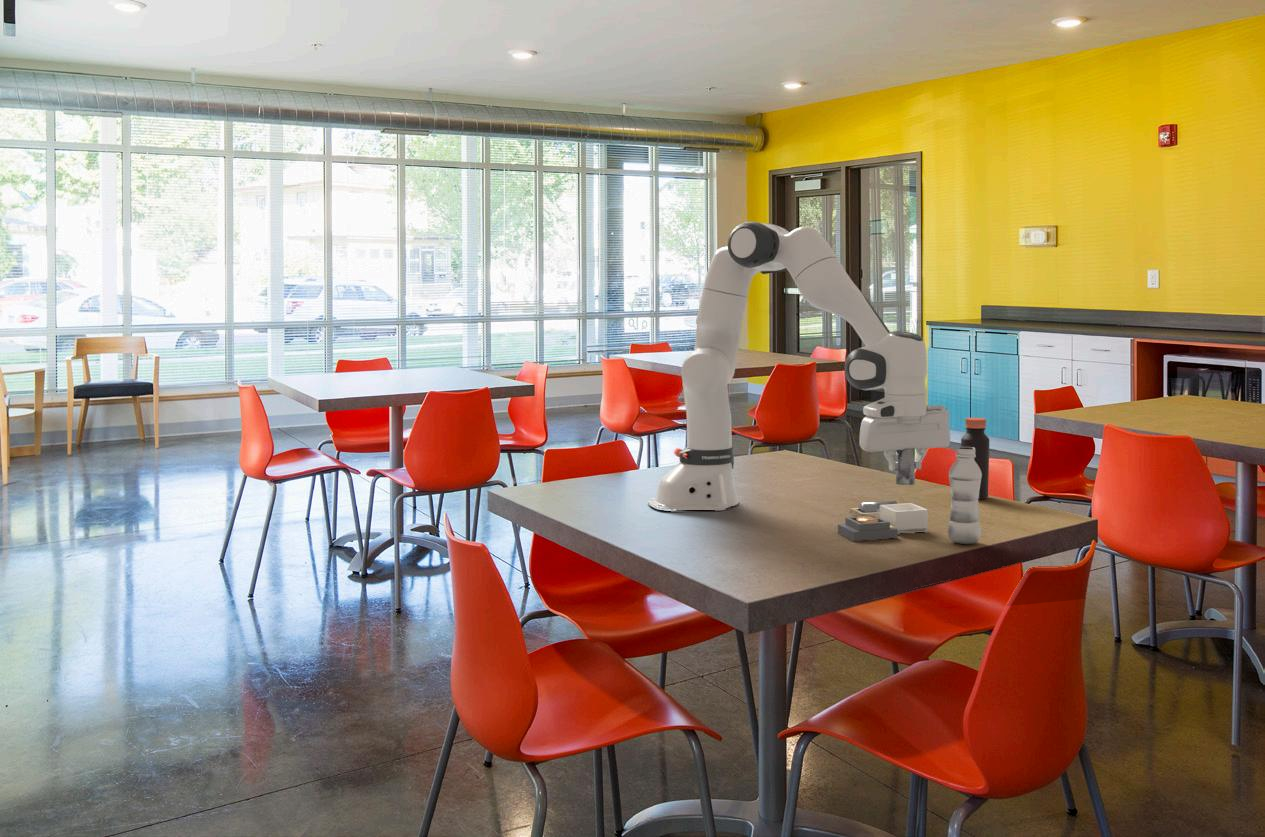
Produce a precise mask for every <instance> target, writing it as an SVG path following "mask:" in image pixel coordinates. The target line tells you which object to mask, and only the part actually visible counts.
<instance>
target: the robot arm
mask: <svg viewBox="0 0 1265 837" xmlns="http://www.w3.org/2000/svg"><path fill="white" fill-rule="evenodd" d="M786 271H788V273H789V274H790V276H791V278H792V280H793V282H794V283H795V285H796V288H797V290H798V291H799V292H800V294H801V296H802V297H803V299H805V301H806V302H807V303H808V304H809V305H810V306H812V308H813V307H814V308H816V309H817V310H820V311H824V312H827V313H830V314H833V315H836V316H838V317H840V318H842V319H844V320H845V321H846V322H847V323H849V324H850V325H851V326H852V328H853V329H854V331H855V332H856V334H857V335H858V337H859V338H860V340H861V341H862V343H863V345H864V346H862V347H859V348H856V349H854V350H852V351H851V352H850V353H849V354H848V355H847V358H846V359H845V363H844V374H845V378H846V379H847V381H848V383H849V384H850V385H851V387H853V388H855V389H857V390H863V391H872V390H881V389H883V390H884V397H883V398H880V399H879V400H876V401H873V402H872V403H868V404H866V405H864V406H863V409H862V413H863V415H865V417H863V419H862V420H861V423H860V429H859V442H858V443H859V447H860V448H861V450H863V451H865V452H868V453H872V452H883V455H884V457H885V459H886V460H887V462H888V470H889V471H890V472H896V471H897V470H899V468H898V466H899V463H898V462H896V460H895V458H894V457H893V456H895V451H896V450H903V449H908V448H914V449H915V453H917V454H916V456H915V470H921V469H922V462H923V460H924V458H925V456H926V455H927V449H936V448H937V449H939V448H947V447H948V446H949V445H950V443H951V430H950V423H949V421H950V412H949V409H948V408H947V407H945V406H944V405H943V404H938V405H937V404H936V405H927V402H928V401H927V398H928V397H927V393H928V392H927V391H928V390H927V388H926V377H927V375H928V361H927V360H928V358H927V356H928V355H927V349H926V348H927V347H926V344H925V343H926V342H925V340H924V339H923V337H922V336H920V335H919V334H917V333H914V332H910V331H900V330H899V331H898V330H896V331H890V330H889V328H888V326H886V324H885V322H884V321H883V320H882V318H881V316H880V315H879V314H878V311H876V310H875V308H874V307H873V305H872V304H871V302H870V301H869V299H868V298H867V297H866V295H865V294H864V293H863V292H862V291H861V290H860V289H859V287H858V286H857V285H856V284H855V283H854V282H853V280H852V279H851V278H850V276H849V274H848V273H847V271H846V270H845V268H844V267H843V264H841V262H840V260H839V258H838V256H837V255H836V253H835V252H834V250H833V248H832V247H831V245H830V244H829V243H828V242H827V240H826V238H824V237H823V235H821V233H820V232H819V231H818V230H817V229H816V228H814V227H812V226H810V225H809V226H808V225H807V226H800V227H797V228H794V229H793V230H790V229H788V228H785V227H781V226H779V225H776V224H773V223H764V222H763V223H762V222H758V221H746V222H742V223H740V224H738V225H736V227H734V228H733V229H732V231H731V232H730V234H729V236H728V240H727V245H726V246H723V247H719V248H718V249H717V250H716V251H715V252H714V254H713V256H712V259H711V260H710V263H709V266H708V269H707V272H706V275H705V279H704V283H703V287H702V292H701V297H700V300H699V301H700V302H699V306H698V312H697V316H696V330H695V342H694V350H693V351H692V352H690V353H689V354H688V355H686V357H685V359H684V360H683V362H682V365H681V368H680V369H681V370H680V375H681V379H682V392H683V400H684V406H685V414H686V442H687V443H686V447H684V448H683V449H681V448H679V447H676V448H675V449H674V450H673V454H674V456H676V457H678V458H679V463H678V464H677V465H675V466H674V467H673V468H672V469H671V470H670V471H668V472H667V473H665V474H664V475H663V476H662V477H661V478H660V479H659V481H658V484H657V488H656V496H655V497H650V498H649V499H655V500H649V499H647V503H648V502H649V503H650V504H651V505H653V506H655V507H658V508H662V509H671V510H673V509H676V510H715V511H726V510H727V509H728V508H731V506H732V507H734V506H737V505H738V504H739V499H738V496H737V492H736V488H735V482H734V481H735V480H734V473H733V472H734V471H733V469H734V466H735V453H734V447H733V445H732V443H733V442H732V431H733V430H732V428H733V427H732V413H731V412H732V411H731V406H730V398H729V397H730V396H729V386H728V385H729V383H731V381H732V380H733V378H734V376H735V373H736V371H735V370H736V365H737V361H738V360H737V359H738V354H739V346H740V337H741V330H742V324H743V320H744V316H745V311H746V305H747V302H748V297H749V293H750V292H749V291H750V287H751V283H752V280H753V278H754V277H755V275H757V274H759V273H761V274H762V275H768V274H775V273H781V272H786ZM659 506H661V507H659ZM726 508H727V509H726Z"/></svg>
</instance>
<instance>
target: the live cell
mask: <svg viewBox="0 0 1265 837" xmlns="http://www.w3.org/2000/svg"><path fill="white" fill-rule="evenodd" d="M888 504H898V503H897V501H896V500H885V501H884V500H883V501H882V500H881V501H872V502H871V501H870V502H861V503H859V505H858V507H857V508H858V511H861V512H863V513H871V512H880V505H888Z"/></svg>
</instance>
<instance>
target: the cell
mask: <svg viewBox="0 0 1265 837" xmlns="http://www.w3.org/2000/svg"><path fill="white" fill-rule="evenodd" d="M915 455H916V449H914V448H908V449H903V450H895V462H898V463H899V466H898V468H899V470H897V471H895V484H896V485H898V486H913V485H915V480H916V477H915V476H916V474H915V471H916V469H915V458H916V456H915Z"/></svg>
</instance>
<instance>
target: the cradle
mask: <svg viewBox="0 0 1265 837" xmlns="http://www.w3.org/2000/svg"><path fill="white" fill-rule="evenodd" d="M860 517H875V518H878V522H874V523H859V522H857V521H856V519H857V518H858V517H850V516H848V517H847V516H846V517H845V521H844V522H845V523H838V524H837V534H838V533H839V534H838V535H840V534H841V535H840V536H842V535H843V537H844V536H845V537H844V538H846V539H848V540H850V539H851V540H850V541H852V542H854V541H855V542H863V541H862V540H868V541H878V540H877V539H882V540H890V539H889V538H895V539H898V534H897V529H896V528H894V527H893V526H891V525H890V522H888V521H886V520H884V519H882V518H880V517H877V516H860Z"/></svg>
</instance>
